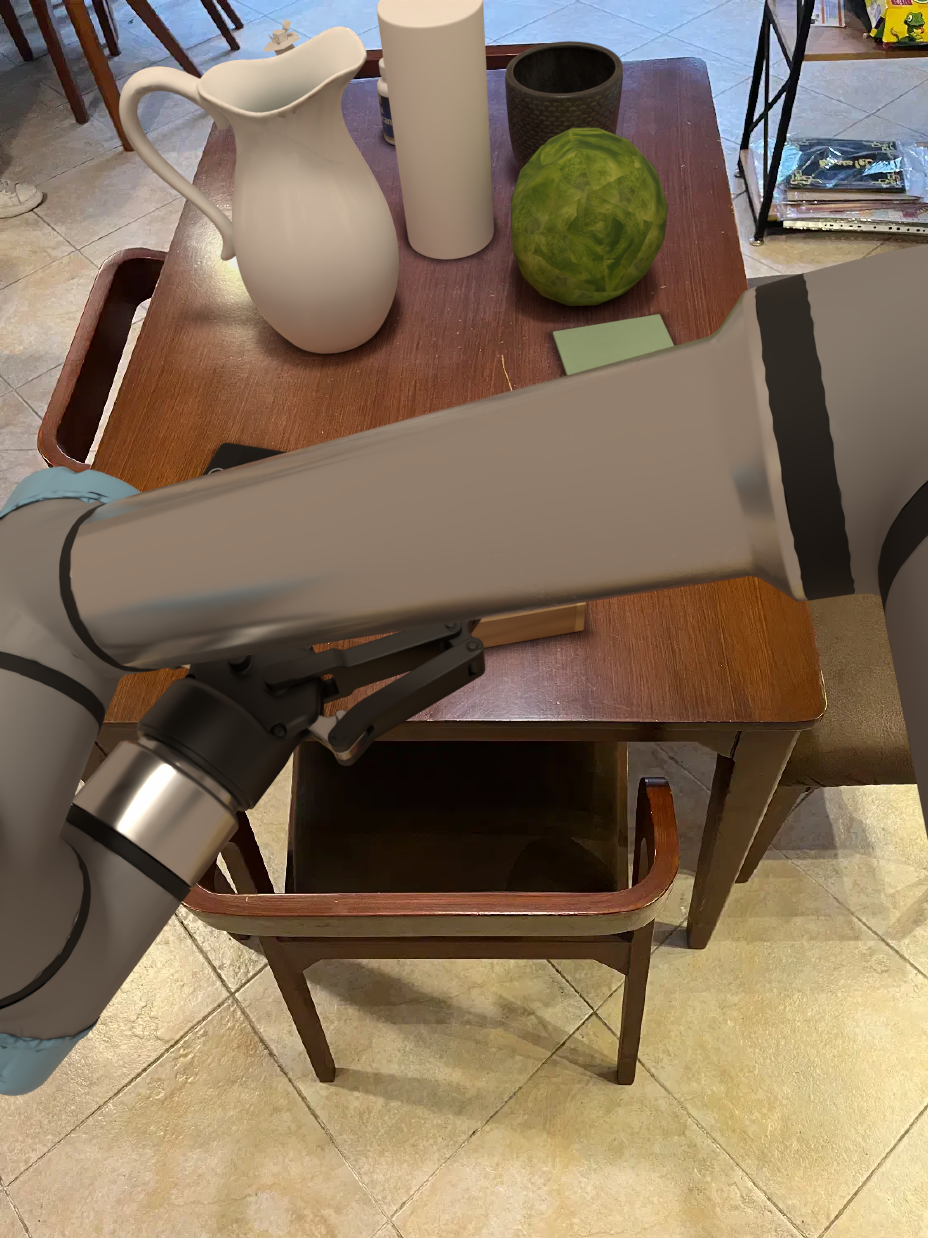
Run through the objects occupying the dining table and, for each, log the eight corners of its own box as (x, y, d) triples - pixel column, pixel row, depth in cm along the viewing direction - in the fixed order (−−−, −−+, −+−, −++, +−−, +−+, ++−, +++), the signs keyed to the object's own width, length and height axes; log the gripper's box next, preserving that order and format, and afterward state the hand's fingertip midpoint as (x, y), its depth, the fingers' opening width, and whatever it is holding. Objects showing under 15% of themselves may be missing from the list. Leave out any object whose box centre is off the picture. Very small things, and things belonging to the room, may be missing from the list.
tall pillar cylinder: (489, 259, 102) (476, 24, 82) (401, 259, 104) (367, 27, 83) (498, 208, 108) (488, -24, 87) (415, 208, 109) (386, -20, 89)
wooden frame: (583, 630, 72) (586, 603, 69) (437, 656, 72) (432, 630, 69) (551, 519, 79) (552, 490, 76) (418, 541, 79) (413, 513, 76)
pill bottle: (377, 136, 120) (365, 60, 112) (408, 122, 122) (398, 46, 114) (398, 150, 118) (388, 74, 110) (430, 136, 119) (422, 59, 111)
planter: (627, 196, 108) (637, 86, 97) (518, 212, 107) (515, 104, 97) (601, 140, 115) (608, 32, 105) (500, 155, 115) (496, 49, 104)
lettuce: (578, 261, 111) (671, 151, 102) (597, 351, 95) (710, 232, 86) (477, 179, 104) (567, 53, 95) (479, 262, 88) (588, 120, 78)
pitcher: (414, 275, 102) (378, 7, 79) (400, 371, 92) (353, 99, 69) (221, 281, 104) (129, 22, 81) (187, 374, 95) (73, 112, 72)
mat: (692, 389, 88) (693, 386, 87) (577, 409, 87) (578, 405, 87) (659, 317, 94) (659, 313, 94) (552, 335, 94) (552, 331, 94)
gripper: (55, 707, 52) (269, 477, 61) (395, 916, 44) (581, 613, 53) (-10, 641, 46) (239, 397, 55) (372, 872, 37) (588, 537, 47)
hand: (407, 502), depth 54 cm, fingers open, 13 cm apart
